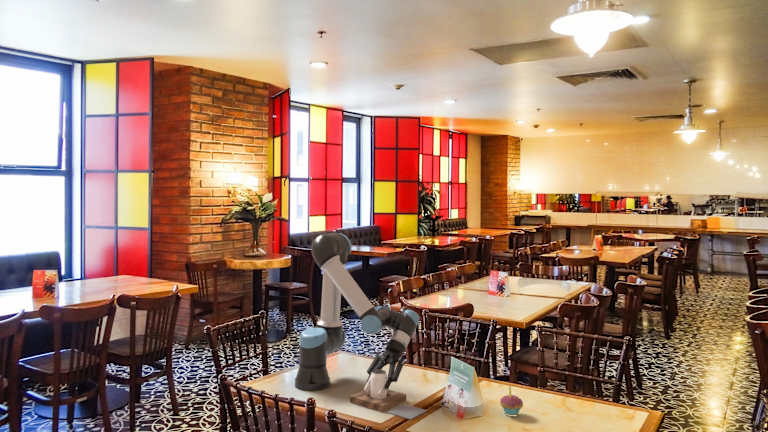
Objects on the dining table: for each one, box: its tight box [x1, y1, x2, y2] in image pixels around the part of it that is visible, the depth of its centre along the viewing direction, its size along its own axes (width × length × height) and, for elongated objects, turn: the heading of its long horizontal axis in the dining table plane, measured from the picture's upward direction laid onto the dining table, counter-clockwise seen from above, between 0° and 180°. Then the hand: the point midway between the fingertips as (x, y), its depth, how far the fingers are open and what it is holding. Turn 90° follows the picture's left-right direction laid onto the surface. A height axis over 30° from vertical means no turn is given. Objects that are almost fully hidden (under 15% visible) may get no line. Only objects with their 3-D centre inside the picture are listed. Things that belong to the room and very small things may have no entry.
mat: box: [386, 403, 428, 421], centre depth 217 cm, size 11×11×1 cm
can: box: [370, 369, 388, 400], centre depth 227 cm, size 6×6×12 cm
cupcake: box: [499, 385, 524, 415], centre depth 216 cm, size 9×8×12 cm
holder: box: [349, 388, 407, 413], centre depth 227 cm, size 16×16×2 cm
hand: (373, 393), depth 225 cm, fingers closed on can, 6 cm apart
